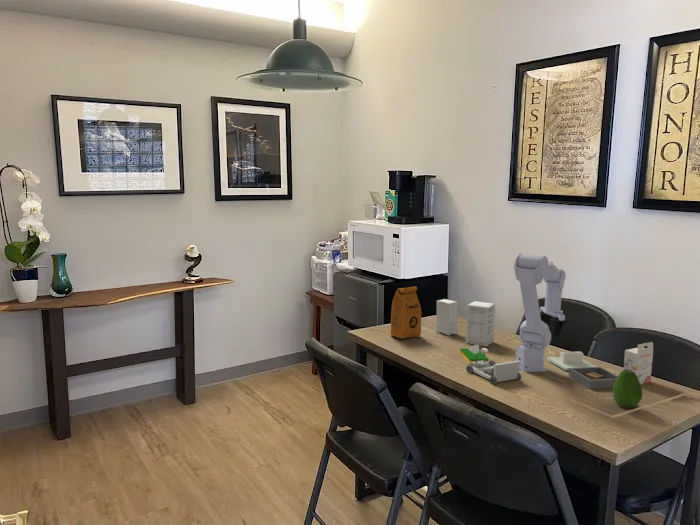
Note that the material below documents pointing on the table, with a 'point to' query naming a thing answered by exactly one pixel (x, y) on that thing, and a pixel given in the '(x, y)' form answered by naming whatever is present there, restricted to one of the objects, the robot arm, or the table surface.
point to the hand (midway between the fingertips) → (550, 334)
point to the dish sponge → (472, 355)
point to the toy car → (493, 368)
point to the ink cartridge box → (640, 361)
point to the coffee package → (406, 314)
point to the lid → (570, 360)
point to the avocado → (627, 389)
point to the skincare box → (447, 316)
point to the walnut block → (594, 376)
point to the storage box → (580, 377)
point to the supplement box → (480, 323)
